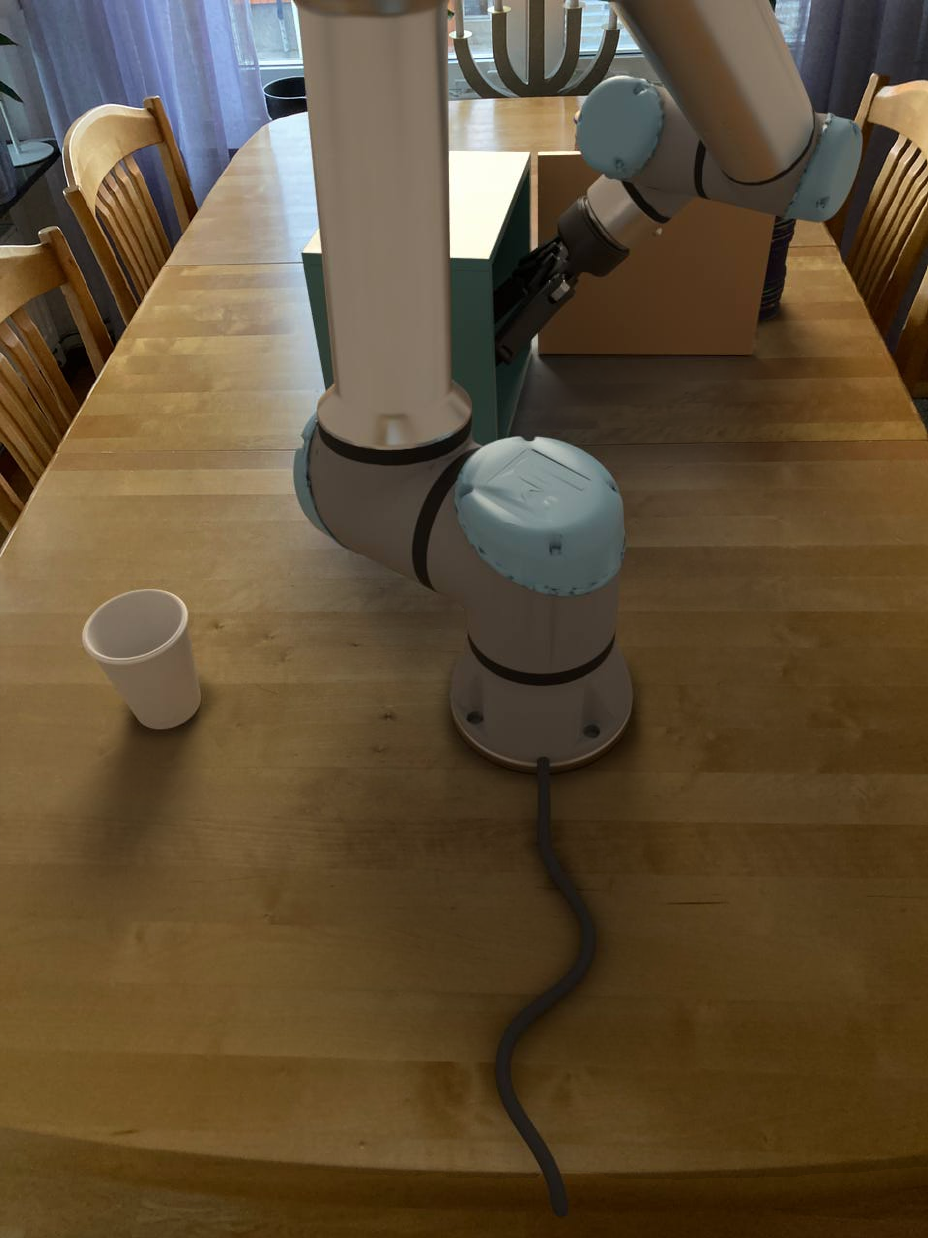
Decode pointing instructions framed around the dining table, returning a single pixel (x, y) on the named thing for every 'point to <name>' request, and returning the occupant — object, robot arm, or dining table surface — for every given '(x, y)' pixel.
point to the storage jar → (776, 268)
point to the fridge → (468, 282)
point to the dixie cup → (147, 655)
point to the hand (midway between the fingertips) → (468, 351)
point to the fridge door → (660, 277)
